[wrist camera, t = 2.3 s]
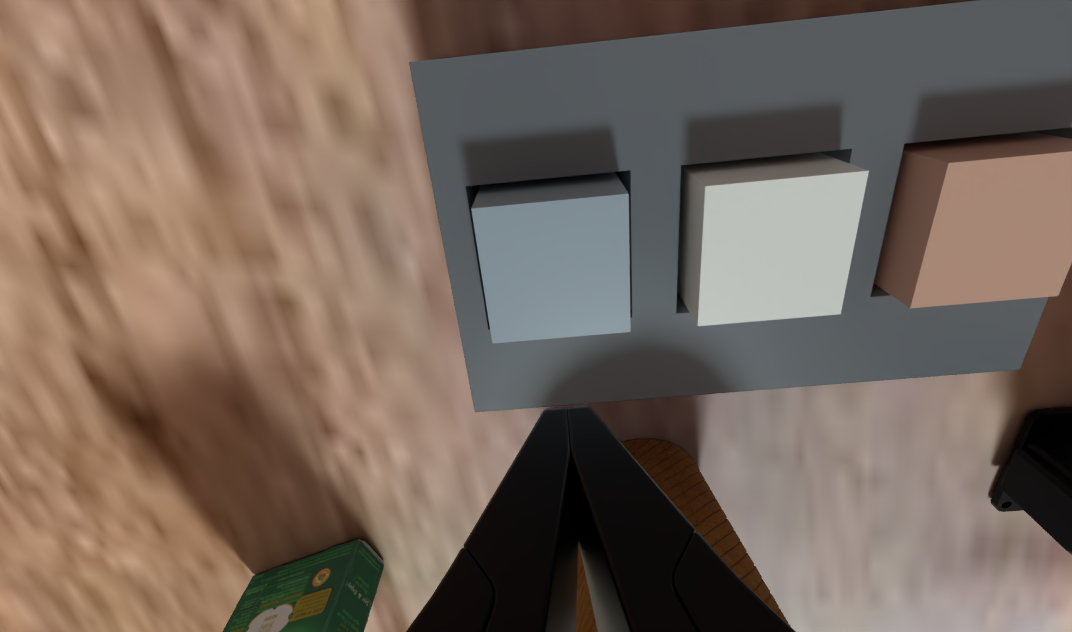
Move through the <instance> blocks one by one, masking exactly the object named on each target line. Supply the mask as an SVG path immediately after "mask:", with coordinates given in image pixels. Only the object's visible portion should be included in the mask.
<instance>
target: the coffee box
mask: <svg viewBox="0 0 1072 632" xmlns="http://www.w3.org/2000/svg"><path fill="white" fill-rule="evenodd" d="M383 568H384V562H383V561H382V559H381V558H380V557H379V556H378V555H377V553H376V552H375V551H374V550H373V549H372V548H371V547H370V546H369V545H368V544H367V543H366V541H362V540H360V539H356V540H354V541H351V542H348V543H345V544H342V545H336V546H333V547H331V548H329V549H328V550H326V551H323V552H321V553H318V554H315V555H312V556H309V557H306V558H303V559H300V560H298V561H295V562H292V563H289V564H287V565H282V566H278V567H275V568H273V569H271V570H269V571H266V572H263V573H261V574H258V575H255V576H253V577H252V579H251V581H250V583H249V585H248V587H247V588H246V590H245V591H244V593H243V595H242V596H241V598H240V600H239V602H238V604H237V606H236V608H235V610H234V611H233V613H232V615H231V617H230V619H229V621H228V623H227V624H226V626H225V628H224V630H223V632H364V629H365V626H366V623H367V621H368V617H369V613H370V610H371V607H372V604H373V601H374V598H375V595H376V592H377V588H378V584H379V581H380V578H381V575H382V571H383Z"/></svg>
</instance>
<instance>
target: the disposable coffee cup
mask: <svg viewBox="0 0 1072 632" xmlns="http://www.w3.org/2000/svg"><path fill="white" fill-rule="evenodd" d="M622 444H623V445H624V447H625V448H626V449H627V450H628V451H629V452H630V454H631V455H632V456H633V457H634V458H635V459H636V461H637V462H638V463H639V464H640V465H641V466H642V467H643V469H644V470H645V471H646V472H647V473H648V474H649V476H650V477H651V478H652V479H653V480H654V481H655V483H656V484H657V485H658V486H659V487H660V488H661V490H662V491H663V492H664V493H665V494H666V495H667V496H668V498H669V499H670V500H671V501H672V502H673V503H674V505H675V506H676V507H677V508H678V509H679V510H680V512H681V513H682V514H683V515H684V516H685V517H686V519H687V520H688V521H689V522H690V523H691V524H692V525H693V527H694V528H695V530H696V532H698V533H700V534H701V536H702V537H703V538H704V539H705V540H706V541H707V543H708V544H709V545H710V546H711V547H712V548H713V550H714V551H715V552H716V553H717V554H718V555H719V556H720V557H721V558H722V560H723V561H724V562H725V563H726V564H727V565H728V566H729V567H730V568H731V569H732V570H733V571H734V573H735V574H736V575H737V576H738V577H739V578H740V579H741V580H742V581H743V582H744V583H745V584H746V585H747V586H748V587H749V588H750V589H751V590H752V591H753V592H754V593H755V594H756V595H757V596H758V597H760V598H761V599H762V600H763V601H764V602H765V603H766V604H767V605H768V606H769V607H770V608H771V609H772V610H773V611H774V612H775V613H776V614H777V615H778V616H779V617H780V618H782V619H783V620H784V621H785V622H786V623H787V624H788V622H787V620H786V618H785V617H784V615H783V613H782V612H781V610H780V609H779V606H778V604H777V603H776V601H775V599H774V598H773V596H772V595H771V594H770V591H769V589H768V587H767V586H766V584H765V582H764V581H763V580H762V579H761V578H762V577H761V575H760V573H759V571H758V570H757V568H756V567H755V566H754V563H753V561H752V560H751V558H750V557H749V555H748V554H747V553H746V549H745V548H744V546H743V544H742V543H741V542H740V539H739V537H738V536H737V534H736V532H735V531H734V530H733V527H732V525H731V524H730V522H729V520H728V519H726V515H725V513H724V512H723V510H722V509H721V507H720V505H719V503H718V501H717V500H716V499H715V496H714V495H713V493H712V491H711V490H709V489H710V488H709V486H708V484H707V483H706V481H704V480H705V479H704V477H703V476H702V474H701V472H699V471H700V470H699V469H698V467H697V465H696V463H695V461H694V460H693V458H692V457H691V456H690V455H689V454H688V453H687V452H686V451H684V450H683V449H681V448H680V447H678V446H676V445H673V444H671V443H668V442H665V441H662V440H651V439H637V440H631V441H626V442H622ZM788 625H789V624H788ZM789 626H790V625H789ZM575 632H598V630H597V626H596V621H595V616H594V612H593V607H592V602H591V598H590V593H589V588H588V584H587V579H586V574H585V570H584V565H583V560H582V556H581V551H580V546H579V541H578V575H577V603H576V631H575Z"/></svg>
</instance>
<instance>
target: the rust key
mask: <svg viewBox="0 0 1072 632" xmlns="http://www.w3.org/2000/svg"><path fill="white" fill-rule="evenodd" d="M1071 264H1072V139H1070V138H1064V137H1058V136H1052V135H1046V134H1040V133H1034V132H1018V133H1008V134H997V135H987V136H977V137H967V138H956V139H946V140H936V141H926V142H915V143H905V144H904V148H903V153H902V157H901V162H900V166H899V171H898V175H897V179H896V184H895V188H894V193H893V197H892V202H891V206H890V211H889V215H888V220H887V224H886V229H885V233H884V238H883V242H882V247H881V251H880V256H879V260H878V265H877V269H876V274H875V278H874V284H876V285H877V286H879V287H880V288H881V289H883V290H884V291H886V292H887V293H889V294H890V295H892V296H893V297H894V298H896V299H897V300H899V301H900V302H902V303H903V304H905V305H906V306H907V307H909V308H921V307H933V306H945V305H957V304H969V303H981V302H992V301H1004V300H1016V299H1028V298H1040V297H1052V296H1058V295H1059V293H1060V291H1061V288H1062V286H1063V283H1064V281H1065V278H1066V276H1067V273H1068V271H1069V268H1070V266H1071Z"/></svg>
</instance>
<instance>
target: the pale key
mask: <svg viewBox="0 0 1072 632" xmlns="http://www.w3.org/2000/svg"><path fill="white" fill-rule="evenodd" d="M868 173H869V170H866V169H863V168H860V167H858V166H855V165H852V164H849V163H847V162H844V161H841V160H838V159H836V158H833V157H830V156H827V155H825V154H822V153H819V152H813V153H802V154H792V155H782V156H772V157H761V158H751V159H741V160H731V161H720V162H710V163H700V164H690V165H681V181H680V212H679V243H678V273H677V292H678V293H679V295H680V297H681V299H682V300H683V302H684V304H685V305H686V307H687V309H688V311H689V312H690V314H691V316H692V317H693V319H694V321H695V323H696V324H697V326H707V325H719V324H730V323H742V322H754V321H766V320H778V319H790V318H802V317H814V316H826V315H838V314H841V310H842V305H843V300H844V295H845V290H846V285H847V280H848V275H849V270H850V264H851V259H852V254H853V249H854V244H855V239H856V234H857V229H858V224H859V219H860V214H861V209H862V204H863V199H864V193H865V188H866V183H867V178H868Z"/></svg>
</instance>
